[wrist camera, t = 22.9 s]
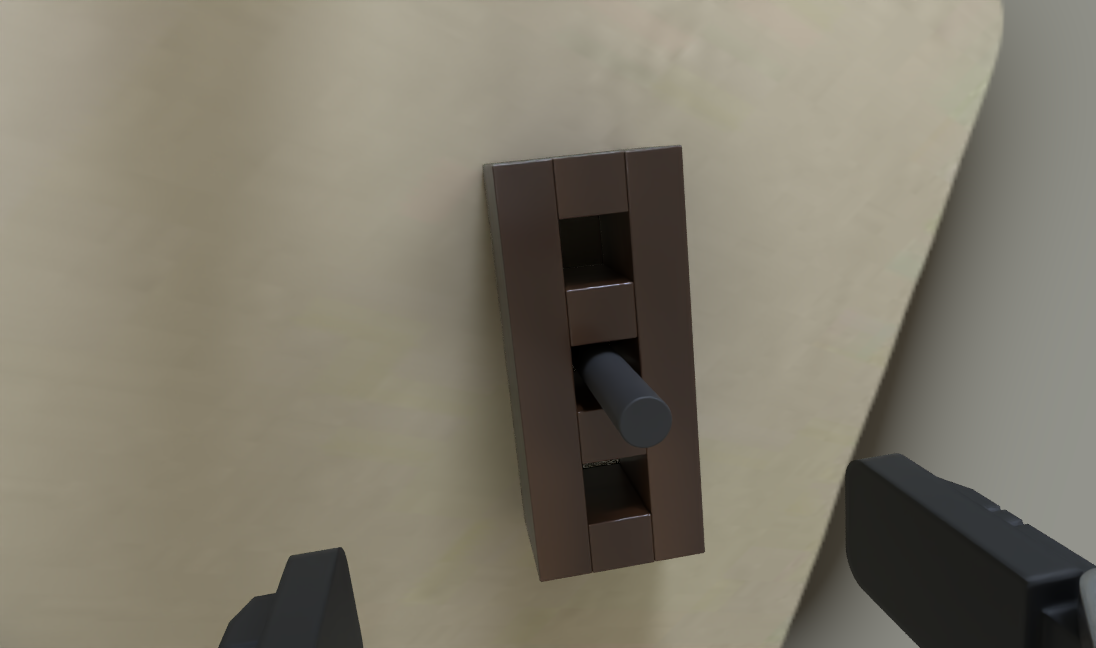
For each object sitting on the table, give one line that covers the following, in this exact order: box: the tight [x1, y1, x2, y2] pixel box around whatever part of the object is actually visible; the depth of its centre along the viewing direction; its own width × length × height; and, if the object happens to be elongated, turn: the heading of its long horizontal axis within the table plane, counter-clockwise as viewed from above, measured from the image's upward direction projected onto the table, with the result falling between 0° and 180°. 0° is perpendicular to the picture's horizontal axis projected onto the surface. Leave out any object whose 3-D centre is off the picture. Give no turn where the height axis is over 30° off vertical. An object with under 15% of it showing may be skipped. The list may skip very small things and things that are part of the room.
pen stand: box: [483, 145, 705, 582], centre depth 35 cm, size 8×19×6 cm, turn 6°
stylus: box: [571, 342, 672, 448], centre depth 32 cm, size 2×2×12 cm
